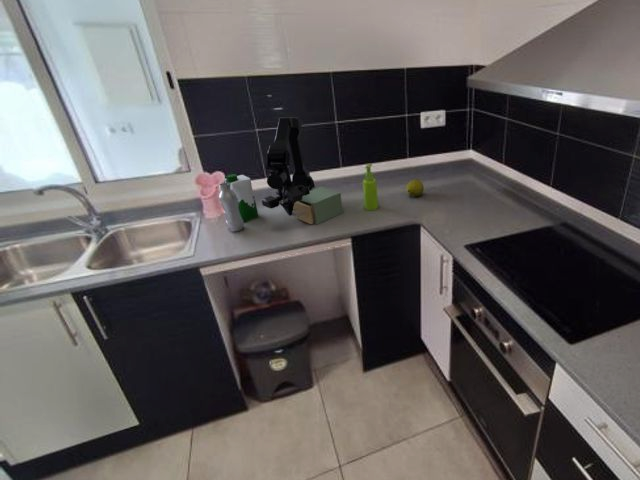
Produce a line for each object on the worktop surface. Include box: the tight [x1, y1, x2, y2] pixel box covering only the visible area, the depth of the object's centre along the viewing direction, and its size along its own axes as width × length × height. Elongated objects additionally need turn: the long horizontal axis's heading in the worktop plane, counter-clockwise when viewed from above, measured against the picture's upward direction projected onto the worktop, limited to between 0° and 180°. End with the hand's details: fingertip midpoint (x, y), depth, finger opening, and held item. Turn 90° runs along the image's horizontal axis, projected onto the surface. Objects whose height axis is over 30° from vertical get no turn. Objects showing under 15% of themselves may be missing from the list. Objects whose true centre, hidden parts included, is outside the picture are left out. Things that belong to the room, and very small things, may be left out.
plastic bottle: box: [218, 181, 245, 232], centre depth 152 cm, size 6×7×20 cm
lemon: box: [405, 179, 425, 197], centre depth 184 cm, size 11×8×8 cm
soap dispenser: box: [362, 163, 379, 211], centre depth 170 cm, size 6×7×20 cm
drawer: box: [291, 200, 315, 225], centre depth 162 cm, size 18×11×8 cm, turn 143°
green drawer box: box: [301, 186, 344, 225], centre depth 166 cm, size 15×13×10 cm
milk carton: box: [224, 173, 259, 223], centre depth 162 cm, size 9×9×20 cm
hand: (290, 215), depth 156 cm, fingers closed
